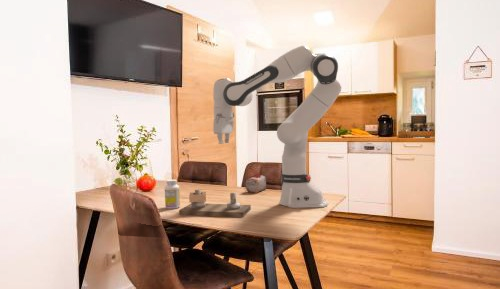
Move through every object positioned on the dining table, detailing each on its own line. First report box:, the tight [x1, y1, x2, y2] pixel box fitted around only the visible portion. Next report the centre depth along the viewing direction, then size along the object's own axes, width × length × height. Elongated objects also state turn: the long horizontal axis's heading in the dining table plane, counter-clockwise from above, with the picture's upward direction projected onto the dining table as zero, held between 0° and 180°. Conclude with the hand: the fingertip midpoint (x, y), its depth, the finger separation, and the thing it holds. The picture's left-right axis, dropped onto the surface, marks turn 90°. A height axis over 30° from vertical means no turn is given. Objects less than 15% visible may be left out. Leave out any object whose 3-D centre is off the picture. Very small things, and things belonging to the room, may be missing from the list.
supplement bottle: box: [164, 178, 181, 210], centre depth 167 cm, size 7×7×13 cm
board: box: [178, 189, 252, 218], centre depth 156 cm, size 28×14×10 cm, turn 77°
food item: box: [245, 173, 267, 194], centre depth 203 cm, size 14×8×10 cm, turn 155°
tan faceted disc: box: [188, 191, 207, 203], centre depth 157 cm, size 7×7×3 cm
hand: (223, 143), depth 169 cm, fingers open, 8 cm apart
